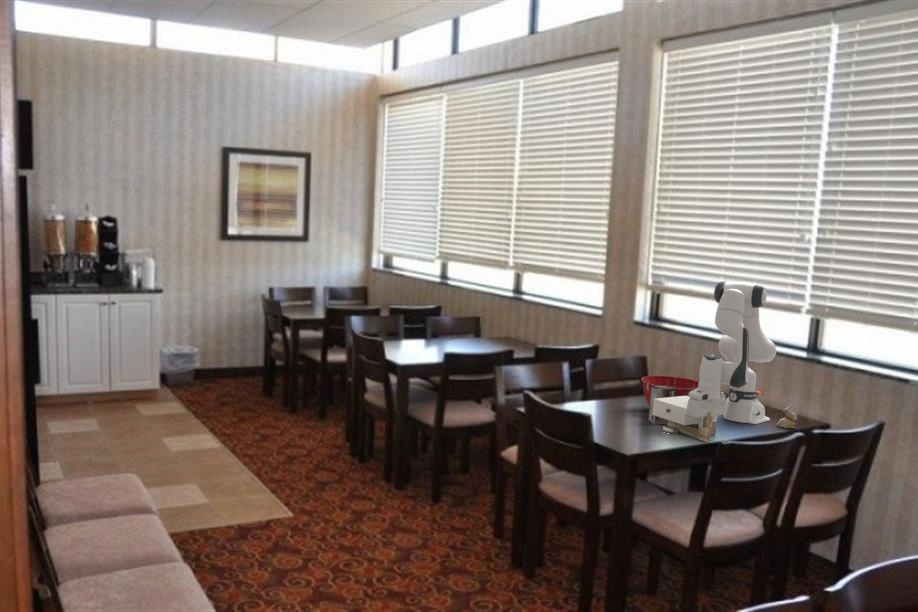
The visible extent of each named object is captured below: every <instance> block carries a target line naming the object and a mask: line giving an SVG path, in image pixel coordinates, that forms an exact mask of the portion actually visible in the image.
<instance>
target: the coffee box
mask: <svg viewBox="0 0 918 612" xmlns="http://www.w3.org/2000/svg"><path fill="white" fill-rule="evenodd" d="M675 395H676V389H675V388H673V387H670V386H652V388H651V400H650V406H649V412H648V413H649V415H648V421H649V420H650V421H651V423H652V422H653V423H652V424H654V423H655V424H654V425H668V420H667V419H664V418H661V417H658V416H655V415H652V414H653V403H654V399H656V398H667V397H675ZM650 421H649V422H650Z"/></svg>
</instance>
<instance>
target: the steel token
mask: <svg viewBox="0 0 918 612" xmlns="http://www.w3.org/2000/svg"><path fill="white" fill-rule="evenodd" d="M677 429H678V428H677V427H675V426H670V425H668V424H663V426H662V433H663V432H665V433H664V434H666V433H669V434H668V435H677V434H678V431H677Z"/></svg>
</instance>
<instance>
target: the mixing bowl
mask: <svg viewBox="0 0 918 612" xmlns="http://www.w3.org/2000/svg"><path fill="white" fill-rule="evenodd" d="M640 379H641V383H642V388H643V393H644V396H645V399H646V402H647V404H648V406H649V407H650V400H651V388H652V386H670V387H673V388H675V389H676V395H675V397H678V396H688V395H689V392H691V391H693V390H695V389H696V388H698V384H699V381H698V380H695V379H691V378H685V377H680V376H672V375H669V376H668V375H648V376H643V377H641V378H640Z"/></svg>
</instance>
